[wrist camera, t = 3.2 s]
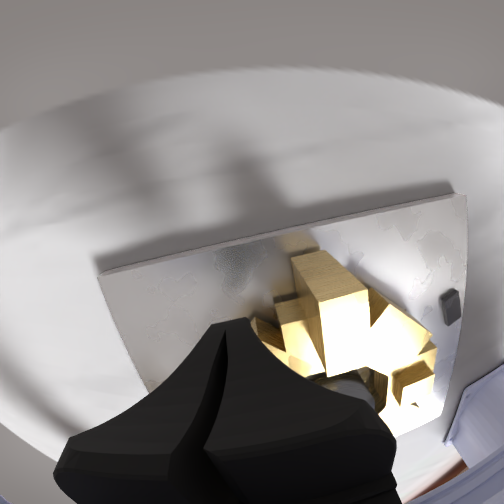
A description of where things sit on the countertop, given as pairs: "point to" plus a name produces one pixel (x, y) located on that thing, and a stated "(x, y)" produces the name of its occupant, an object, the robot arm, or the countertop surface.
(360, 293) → the gold blocky ring
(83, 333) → the countertop surface
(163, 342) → the plate
